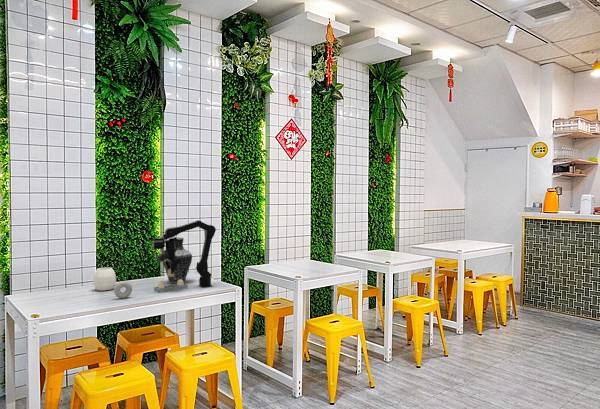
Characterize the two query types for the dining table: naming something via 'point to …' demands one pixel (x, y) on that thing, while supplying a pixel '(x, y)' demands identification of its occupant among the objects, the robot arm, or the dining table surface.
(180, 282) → the carton
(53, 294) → the dining table surface
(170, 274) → the egg
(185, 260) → the jug
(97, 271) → the cream rounded canister
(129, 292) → the grey ring
